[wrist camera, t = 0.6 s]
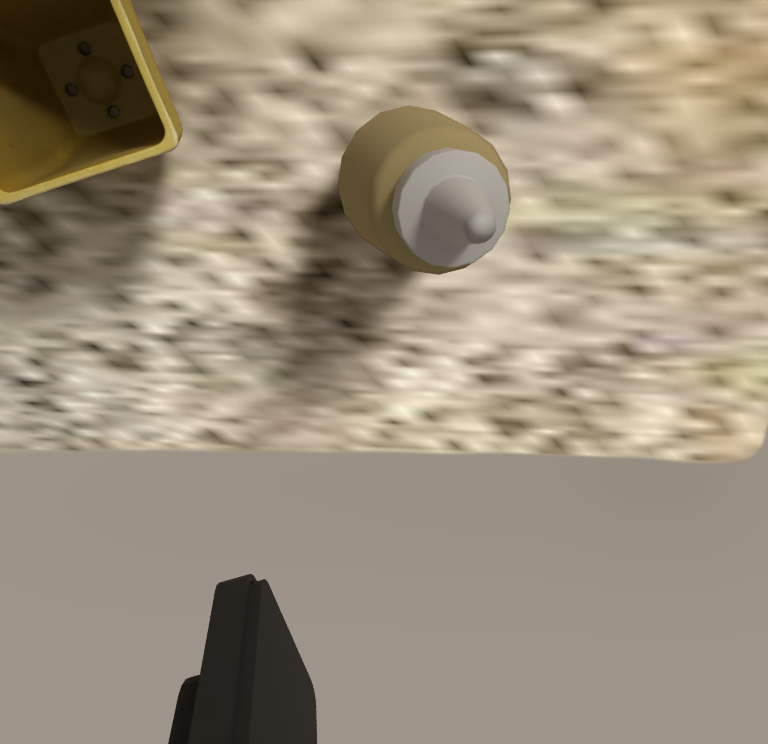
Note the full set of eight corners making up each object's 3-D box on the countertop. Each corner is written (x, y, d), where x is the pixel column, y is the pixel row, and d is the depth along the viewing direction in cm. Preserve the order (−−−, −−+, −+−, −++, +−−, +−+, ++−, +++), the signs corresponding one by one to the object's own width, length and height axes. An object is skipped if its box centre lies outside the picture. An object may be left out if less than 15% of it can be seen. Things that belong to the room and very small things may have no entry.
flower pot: (210, 140, 34) (181, 148, 26) (68, 187, 34) (-5, 208, 26) (142, -33, 30) (83, -88, 22) (-17, 19, 30) (-134, -17, 22)
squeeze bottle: (367, 263, 38) (417, 372, 22) (311, 143, 35) (321, 165, 18) (479, 209, 38) (616, 280, 21) (434, 82, 34) (555, 50, 18)
